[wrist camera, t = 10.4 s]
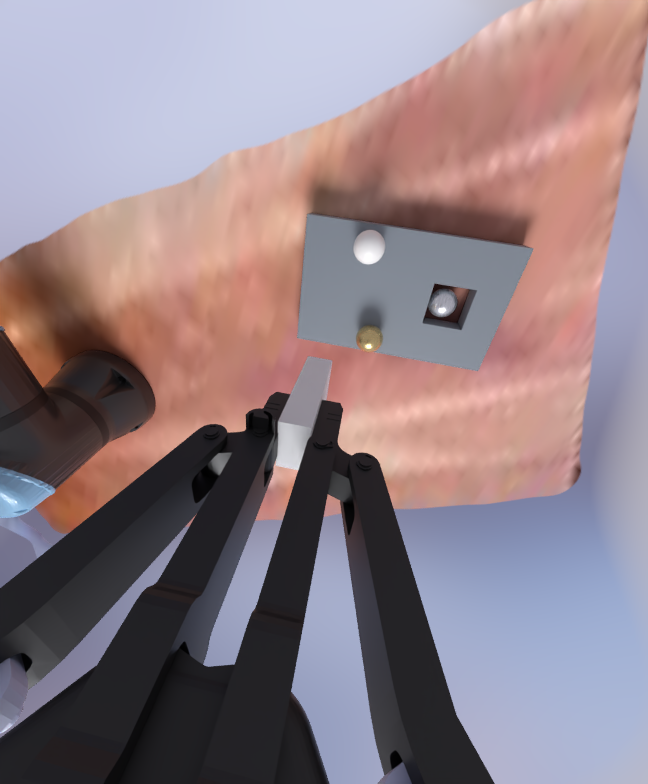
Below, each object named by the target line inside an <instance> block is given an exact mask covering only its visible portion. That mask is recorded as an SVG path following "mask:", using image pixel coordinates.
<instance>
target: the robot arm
mask: <svg viewBox="0 0 648 784" xmlns="http://www.w3.org/2000/svg"><path fill="white" fill-rule="evenodd" d="M4 331H5V329H4V328H3V327H2V326H0V517H1V518H10V517H16V516H20V515H23V514H25V513H27V512H29V511H30V510H31V509H33V508H34V507H35V506H37V505H38V504H39V503H40V502H42V501H43V500H44V499H46V498H47V497H48V496H50V495H52V494H53V493H54V492H55V490H56V489H57V488H58V487H59V486H60V485H62V484H63V483H64V482H65V481H66V480H67V479H68V478H69V477H70V476H72V475H73V474H74V473H75V472H76V471H77V470H78V469H79V468H80V467H81V466H83V465H84V464H85V463H86V462H87V461H88V460H89V459H90V458H91V457H93V456H94V455H95V454H96V453H97V452H98V451H99V450H100V449H101V448H102V447H104V446H105V445H106V444H107V443H108V442H110V441H113V440H115V439H117V438H119V437H122V436H124V435H126V434H128V433H129V432H133V431H135V430H137V429H139V428H140V427H142V426H143V425H144V424H145V423H146V422H147V421H148V420H149V419H150V418H151V417H152V416H153V414H154V411H155V399H154V395H153V392H152V390H151V388H150V386H149V384H148V383H147V381H146V380H145V379H144V377H143V376H142V375H141V374H140V373H139V372H138V371H137V370H136V369H135V368H134V367H133V366H131V365H130V364H129V363H127V362H126V361H124V360H123V359H121V358H119V357H117V356H115V355H113V354H110V353H107V352H103V351H97V350H89V351H85V352H82V353H80V354H78V355H76V356H74V357H72V358H70V359H69V360H67V361H66V362H65V363H64V365H63V366H62V367H61V369H60V371H59V372H58V373H57V374H56V375H55V376H54V377H53V378H52V379H51V380H50V381H49V382H48V384H47V385H46V386H45V387H43V388H42V386H41V385H40V383H39V382H38V380H37V379H36V378H35V376H34V375H33V373H32V372H31V370H30V369H29V367H28V366H27V364H26V363H25V361H24V360H23V358H22V357H21V356H20V354H19V353H18V351H17V350H16V348H15V347H14V345H13V344H12V342H11V341H10V339H9V338H8V336H7V335H6V333H5V332H4ZM331 366H332V360H327V359H321V358H316V357H310V356H308V358H307V360H306V362H305V364H304V366H303V369H302V371H301V373H300V375H299V377H298V379H297V381H296V384H295V386H294V388H293V390H292V392H291V394H285V393H280V392H276V393H274V394H273V395H271V396H270V397H269V399H268V401H267V403H266V404H265V406H264V408H263V409H260V408H259V409H253V410H251V411H249V412H248V413H247V414H246V430H245V431H243V432H234V433H227V430H226V428H225V427H223V426H221V425H217V424H210V425H206V426H203V427H202V428H200V429H198V430H197V431H196V432H195V433H193V434H192V435H191V436H190V437H189V438H187V439H186V440H185V441H184V442H182V443H181V444H180V445H179V446H177V447H176V448H175V449H174V450H172V451H171V452H170V453H169V454H167V455H166V456H165V457H164V458H162V459H161V460H160V461H159V462H157V463H156V464H155V465H154V466H152V467H151V468H150V469H149V470H147V471H146V472H145V473H144V474H142V475H141V476H140V477H139V478H137V479H136V480H135V481H134V482H132V483H131V484H130V485H129V486H127V487H126V488H125V489H124V490H122V491H121V492H120V493H119V494H117V495H116V496H115V497H114V498H112V499H111V500H110V501H109V502H107V503H106V504H105V505H104V506H102V507H101V508H100V509H99V510H97V511H96V512H95V513H94V514H92V515H91V516H90V517H89V518H87V519H86V520H85V521H84V522H82V523H81V524H80V525H79V526H77V527H76V528H75V529H74V530H72V531H71V532H70V533H69V534H68V535H66V536H65V537H64V538H63V539H61V540H60V541H59V542H58V543H56V544H55V545H54V546H53V547H51V548H50V549H49V550H48V551H46V552H45V553H44V554H43V555H41V556H40V557H39V558H38V559H36V560H35V561H34V562H33V563H31V564H30V565H29V566H28V567H26V568H25V569H24V570H23V571H22V572H20V573H19V574H18V575H16V576H15V577H14V578H13V579H11V580H10V581H9V582H8V583H6V584H5V585H4V586H3V587H2V588H0V733H2V732H5V731H6V730H7V729H9V728H10V727H11V726H12V725H13V724H14V723H15V722H16V720H17V719H18V718H19V717H20V714H21V712H22V710H23V703H24V701H25V699H26V696H27V692H28V690H29V689H30V688H31V687H33V686H34V685H35V684H37V683H38V682H39V681H40V680H41V679H42V678H44V677H45V676H46V675H47V674H48V673H49V672H50V671H51V670H52V669H54V668H55V667H56V666H57V665H58V664H59V663H60V662H61V661H62V660H63V659H64V658H65V657H66V656H67V655H68V654H69V653H70V652H71V651H72V650H73V649H74V648H75V647H76V646H77V645H78V644H79V643H80V642H81V641H82V640H83V638H84V637H85V636H86V635H87V634H88V633H89V632H90V631H91V630H92V628H93V627H94V626H95V625H96V624H97V623H98V622H99V621H100V620H101V618H102V617H103V616H104V615H105V614H106V613H107V612H108V611H109V609H111V608H112V606H113V605H114V604H115V603H116V602H117V601H118V600H119V599H120V598H121V597H122V595H123V594H124V593H125V592H126V591H127V590H128V589H129V587H131V586H132V584H133V583H134V582H135V581H136V580H137V579H138V578H139V577H140V576H141V574H142V573H143V572H144V571H145V570H146V569H147V568H148V567H149V566H150V565H151V563H152V562H153V561H154V560H155V559H156V558H157V557H158V556H159V555H160V554H161V552H162V551H163V550H164V549H165V548H166V547H167V546H168V545H169V544H170V543H171V541H172V540H173V539H174V538H175V537H176V536H177V535H178V534H179V533H180V531H181V530H182V529H183V528H184V527H185V526H186V525H187V524H188V523H189V522H190V520H191V519H192V518H193V517H194V516H195V515H196V514H197V515H196V516H195V518H194V520H193V522H192V523H191V525H190V527H189V529H188V530H187V532H186V534H185V535H184V537H183V539H182V541H181V542H180V544H179V546H178V548H177V549H176V551H175V553H174V554H173V556H172V558H171V560H170V561H169V563H168V565H167V566H166V568H165V570H164V572H163V573H162V575H161V577H160V578H159V580H158V582H157V583H156V584H154V585H153V586H150V587H147V588H146V589H145V590H144V591H143V592H142V593H141V595H140V596H139V598H138V599H137V600H136V602H135V604H134V605H133V607H132V609H131V610H130V612H129V614H128V615H127V617H126V619H125V620H124V622H123V623H122V625H121V627H120V629H119V630H118V632H117V634H116V635H115V637H114V638H113V640H112V642H111V644H110V645H109V647H108V648H107V650H106V652H105V653H104V655H103V657H102V658H101V660H100V661H99V663H98V665H97V666H95V667H94V668H93V669H91V670H90V671H88V672H87V673H86V674H84V675H83V676H82V677H81V678H79V679H78V680H77V681H75V682H74V683H73V684H71V685H70V686H69V687H67V688H66V689H65V690H63V691H62V692H61V693H59V694H58V695H57V696H55V697H54V698H53V699H52V700H50V701H49V702H47V703H46V704H45V705H43V706H42V707H41V708H40V709H38V710H37V711H36V712H34V713H33V714H32V715H30V716H29V717H28V718H26V719H25V720H24V721H22V722H21V723H20V724H18V725H17V726H16V727H14V728H13V729H12V730H10V731H9V732H8V733H6V734H5V735H4V736H2V737H1V738H0V784H329V781H328V778H327V775H326V772H325V768H324V765H323V762H322V759H321V756H320V753H319V750H318V747H317V744H316V740H315V737H314V734H313V731H312V728H311V725H310V722H309V720H308V718H307V716H306V713H305V711H304V710H303V708H302V706H301V704H300V703H299V701H298V700H297V698H296V697H295V696H294V695H293V694H292V692H291V688H292V682H293V678H294V672H295V667H296V661H297V656H298V651H299V645H300V640H301V634H302V628H303V624H304V618H305V613H306V606H307V601H308V596H309V591H310V586H311V580H312V575H313V570H314V564H315V558H316V553H317V548H318V542H319V537H320V531H321V526H322V521H323V516H324V510H325V505H326V500H327V494H329V495H331V496H333V497H335V498H337V499H338V500H340V504H341V511H342V518H343V525H344V532H345V539H346V546H347V553H348V560H349V567H350V574H351V581H352V587H353V595H354V602H355V608H356V615H357V622H358V629H359V636H360V643H361V650H362V657H363V664H364V671H365V678H366V685H367V692H368V699H369V706H370V712H371V719H372V724H373V729H374V735H375V740H376V745H377V749H378V753H379V757H380V760H381V764H382V768H383V771H384V775H385V776H384V777H383V778H382V779H381V780H380V781H379V782H378V784H494V782H493V780H492V778H491V776H490V775H489V773H488V771H487V769H486V767H485V766H484V764H483V762H482V760H481V759H480V757H479V755H478V753H477V751H476V749H475V748H474V746H473V744H472V743H471V741H470V739H469V737H468V735H467V733H466V731H465V730H464V728H463V726H462V724H461V723H460V721H459V719H458V717H457V715H456V712H455V709H454V706H453V702H452V699H451V696H450V693H449V689H448V686H447V683H446V679H445V676H444V673H443V670H442V666H441V663H440V660H439V656H438V653H437V650H436V647H435V644H434V640H433V637H432V634H431V630H430V627H429V624H428V621H427V617H426V614H425V611H424V608H423V604H422V601H421V598H420V594H419V591H418V588H417V585H416V581H415V578H414V575H413V572H412V568H411V565H410V562H409V558H408V555H407V552H406V549H405V545H404V542H403V539H402V535H401V532H400V529H399V526H398V522H397V519H396V516H395V512H394V509H393V506H392V503H391V499H390V496H389V493H388V489H387V486H386V483H385V480H384V476H383V473H382V470H381V467H380V464H379V462H378V460H377V459H376V458H375V457H374V456H372V455H370V454H368V453H356V454H354V455H352V456H351V455H349V454H347V453H345V452H344V451H343V450H342V449H341V448H340V447H339V445H338V434H339V429H340V423H341V418H342V412H343V408H342V406H341V404H340V403H336V402H331V401H326V399H327V393H328V386H329V380H330V373H331ZM275 461H276V466H280V467H285V468H290V469H295V470H298V473H297V476H296V480H295V483H294V486H293V489H292V493H291V496H290V499H289V502H288V506H287V509H286V512H285V515H284V518H283V522H282V525H281V528H280V531H279V535H278V538H277V541H276V544H275V548H274V551H273V554H272V558H271V561H270V564H269V567H268V570H267V574H266V577H265V580H264V583H263V586H262V590H261V593H260V596H259V600H258V603H257V605H256V608H255V609H254V611H253V612H252V614H251V617H250V619H249V622H248V625H247V628H246V631H245V634H244V637H243V640H242V644H241V647H240V650H239V653H238V656H237V659H236V662H235V665H224V666H213V667H207V666H204V665H203V663H204V660H205V657H206V654H207V650H208V645H209V640H210V636H211V632H212V629H213V627H214V624H215V622H216V619H217V616H218V614H219V611H220V609H221V606H222V603H223V601H224V598H225V596H226V593H227V590H228V588H229V586H230V583H231V580H232V578H233V575H234V573H235V570H236V568H237V565H238V562H239V560H240V557H241V555H242V552H243V550H244V547H245V545H246V542H247V539H248V537H249V534H250V532H251V529H252V526H253V524H254V521H255V519H256V516H257V514H258V511H259V509H260V506H261V503H262V501H263V498H264V496H265V493H266V491H267V488H268V485H269V483H270V480H271V478H272V475H273V466H274V463H275Z"/></svg>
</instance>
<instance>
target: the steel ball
mask: <svg viewBox="0 0 648 784" xmlns="http://www.w3.org/2000/svg"><path fill="white" fill-rule="evenodd" d="M457 303H458V300H457V296H456V294H455V293H454V292H453V291H452V290H450V289H446V288H442V289H438V290H436V291H435V292H433V293H432V294H431V296H430V299H429V303H428V308H429V311H430V312H431V313H432V314H433V315H434V316H437V317H446V316H448V315H450V314H451V313H453V312H454V310H455V309H456V307H457Z"/></svg>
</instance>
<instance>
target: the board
mask: <svg viewBox="0 0 648 784" xmlns="http://www.w3.org/2000/svg"><path fill="white" fill-rule="evenodd" d="M366 230H375V231H377V232H379V233H380V234H381V235H382V237H383V238H384V241H385V251H384V254H383V256H382V257H381V259H380V260H379V261H377V262H376V263H373V264H363V263H361V262H360V261H359V260H358V259H357V258H356V256H355V254H354V249H353V247H354V242H355V240H356V238H357V236H358V235H359V234H360V233H362V232H363V231H366ZM532 251H533V248H530V247H527V246H524V245H518V244H511V243H505V242H498V241H492V240H485V239H478V238H472V237H465V236H459V235H452V234H446V233H439V232H433V231H426V230H420V229H413V228H407V227H400V226H394V225H387V224H381V223H374V222H367V221H361V220H354V219H348V218H341V217H335V216H328V215H322V214H315V213H310V214H307V224H306V236H305V248H304V261H303V273H302V286H301V298H300V310H299V323H298V335H297V338H300V339H305V340H311V341H316V342H322V343H327V344H333V345H338V346H343V347H349V348H354V349H360V348H359V347H358V346H357V343H356V335H357V332H358V331H359V330H360V329H361V328H362V327H364V326H366V325H373V326H376V327H378V328H379V329H380V330H381V332H382V334H383V342H382V345H381V346H380V348H379V349H377V350H376V351H374V352H376V353H382V354H387V355H393V356H398V357H404V358H409V359H415V360H420V361H426V362H431V363H437V364H442V365H447V366H453V367H458V368H464V369H469V370H475V371H478V370H479V368H480V366H481V363H482V361H483V359H484V357H485V355H486V352H487V350H488V348H489V346H490V344H491V341H492V339H493V337H494V335H495V333H496V330H497V328H498V326H499V324H500V322H501V319H502V317H503V315H504V313H505V311H506V308H507V306H508V304H509V302H510V300H511V298H512V295H513V293H514V291H515V289H516V287H517V284H518V282H519V280H520V278H521V276H522V273H523V271H524V269H525V267H526V265H527V262H528V260H529V258H530V256H531V254H532ZM434 283H435V284H442V285H448V286H454V287H460V288H466V289H470V291H469V293H468V296H467V299H466V301H465V304H464V307H463V309H462V312H461V315H460V317H459V320H458V323H455V322H449V321H443V320H438V319H432V318H426V317H424V316H425V312H426V309H427V306H428V303H429V299H430V296H431V293H432V290H433V287H434ZM360 350H361V349H360Z"/></svg>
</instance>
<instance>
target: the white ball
mask: <svg viewBox="0 0 648 784" xmlns="http://www.w3.org/2000/svg"><path fill="white" fill-rule="evenodd" d="M353 249H354V254H355V256H356V258H357V259H358V260H359V261H360V262H361V263H363V264H373V263H376V262H377V261H379V260H380V259H381V257H382V256H383V254H384V251H385V241H384V238H383V237H382V235H381V234H380V233H379V232H377V231H375V230H366V231H363V232H362V233H360V234H359V235H358V236H357V238H356V240H355V242H354V247H353Z"/></svg>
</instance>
